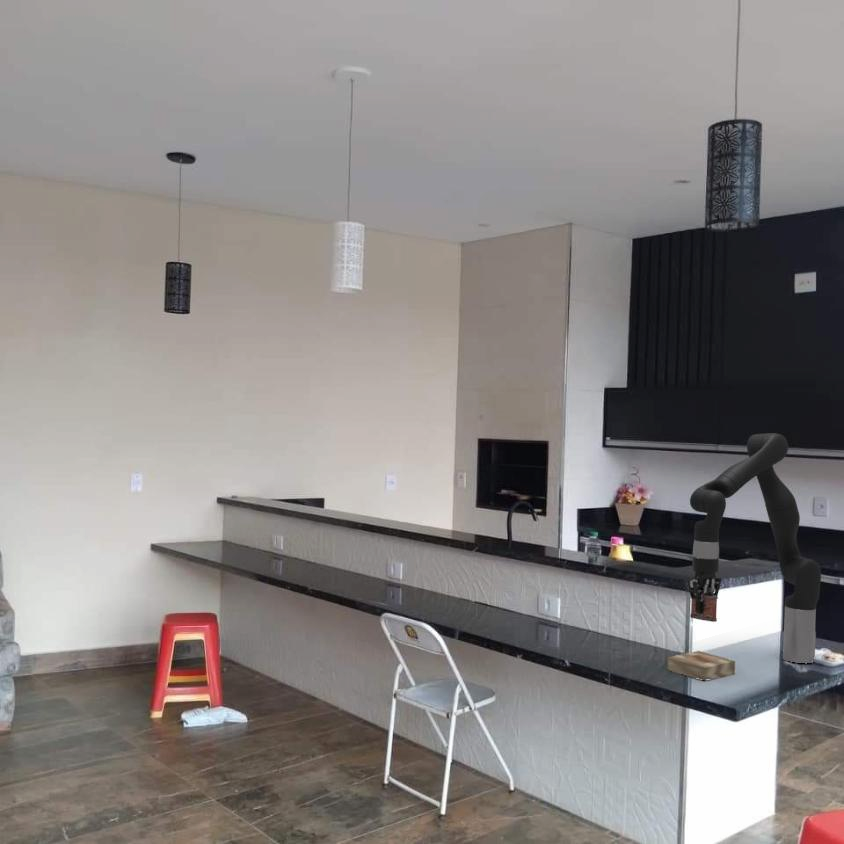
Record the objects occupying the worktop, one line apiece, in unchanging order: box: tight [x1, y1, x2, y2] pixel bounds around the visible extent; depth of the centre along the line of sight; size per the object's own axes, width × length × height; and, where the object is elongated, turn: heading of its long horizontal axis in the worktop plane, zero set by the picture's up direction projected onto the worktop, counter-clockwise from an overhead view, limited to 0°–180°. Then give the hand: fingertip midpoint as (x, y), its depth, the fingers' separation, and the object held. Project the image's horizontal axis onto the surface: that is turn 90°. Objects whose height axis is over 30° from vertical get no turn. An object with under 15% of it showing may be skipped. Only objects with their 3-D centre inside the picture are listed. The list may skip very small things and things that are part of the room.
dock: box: [667, 650, 736, 680], centre depth 270 cm, size 15×13×4 cm
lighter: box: [689, 588, 719, 623], centre depth 270 cm, size 8×3×10 cm, turn 48°
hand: (703, 612), depth 270 cm, fingers closed on lighter, 3 cm apart
